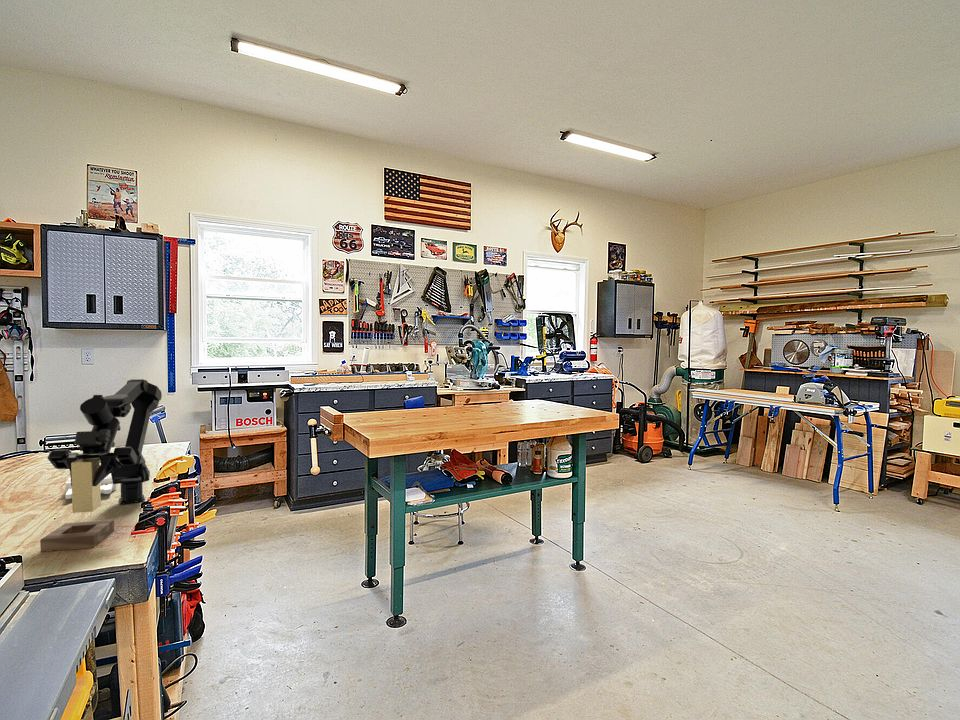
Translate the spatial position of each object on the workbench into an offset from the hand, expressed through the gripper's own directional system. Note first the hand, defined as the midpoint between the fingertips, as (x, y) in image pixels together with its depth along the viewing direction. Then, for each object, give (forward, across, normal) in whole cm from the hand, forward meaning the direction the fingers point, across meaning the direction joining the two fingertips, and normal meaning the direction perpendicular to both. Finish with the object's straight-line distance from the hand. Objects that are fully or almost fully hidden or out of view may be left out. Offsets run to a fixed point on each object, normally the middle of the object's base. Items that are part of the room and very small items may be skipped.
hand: (83, 486), depth 127 cm
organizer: (-25, -19, +46) cm, 55 cm away
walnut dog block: (+11, 0, +7) cm, 14 cm away
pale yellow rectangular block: (+4, 0, +6) cm, 7 cm away
